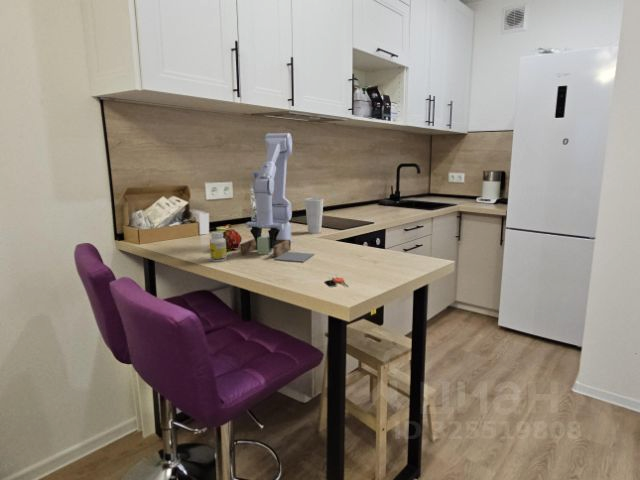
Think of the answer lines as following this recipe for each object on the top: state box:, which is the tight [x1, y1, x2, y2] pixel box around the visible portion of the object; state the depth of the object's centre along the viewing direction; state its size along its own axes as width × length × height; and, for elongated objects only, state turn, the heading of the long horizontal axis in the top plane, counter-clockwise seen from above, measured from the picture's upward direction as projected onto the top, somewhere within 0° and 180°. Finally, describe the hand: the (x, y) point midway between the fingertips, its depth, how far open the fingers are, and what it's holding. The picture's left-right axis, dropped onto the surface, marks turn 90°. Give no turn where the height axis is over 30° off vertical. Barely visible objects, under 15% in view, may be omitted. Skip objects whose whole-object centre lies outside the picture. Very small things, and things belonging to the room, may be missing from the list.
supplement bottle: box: [209, 230, 228, 263], centre depth 144 cm, size 5×5×10 cm
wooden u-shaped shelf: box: [239, 238, 292, 259], centre depth 155 cm, size 13×14×4 cm
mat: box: [273, 251, 315, 263], centre depth 147 cm, size 11×11×1 cm
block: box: [257, 235, 274, 255], centre depth 154 cm, size 4×4×6 cm
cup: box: [304, 197, 324, 234], centre depth 191 cm, size 8×8×16 cm
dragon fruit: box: [222, 228, 243, 251], centre depth 160 cm, size 8×8×12 cm
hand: (265, 247), depth 154 cm, fingers open, 5 cm apart
